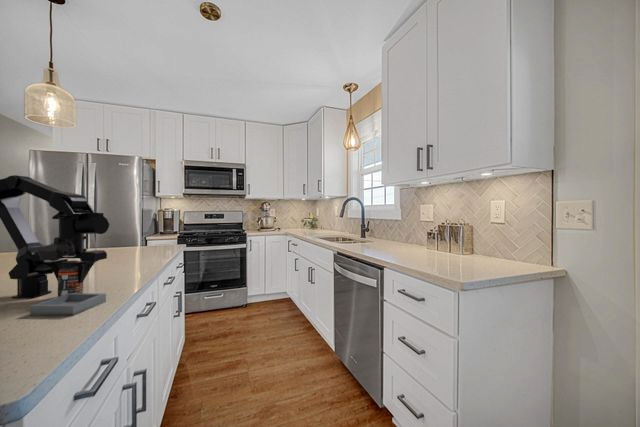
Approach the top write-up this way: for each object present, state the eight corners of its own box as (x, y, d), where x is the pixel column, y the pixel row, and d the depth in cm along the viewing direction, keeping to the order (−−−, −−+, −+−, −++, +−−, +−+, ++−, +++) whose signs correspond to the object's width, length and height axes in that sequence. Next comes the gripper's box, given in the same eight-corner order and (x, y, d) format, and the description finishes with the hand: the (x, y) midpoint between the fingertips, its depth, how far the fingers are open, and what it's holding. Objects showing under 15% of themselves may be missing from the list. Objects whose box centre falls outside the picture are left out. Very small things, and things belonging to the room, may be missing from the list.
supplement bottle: (67, 300, 82) (67, 263, 82) (52, 299, 83) (52, 262, 83) (88, 294, 88) (88, 260, 88) (73, 293, 89) (73, 259, 89)
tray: (30, 315, 70) (30, 305, 70) (69, 301, 81) (69, 293, 81) (73, 315, 71) (73, 306, 71) (105, 301, 82) (105, 293, 82)
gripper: (12, 235, 77) (12, 289, 78) (78, 236, 78) (78, 290, 78) (50, 232, 89) (50, 279, 89) (108, 233, 89) (107, 280, 89)
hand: (70, 282), depth 86 cm, fingers closed on supplement bottle, 6 cm apart
